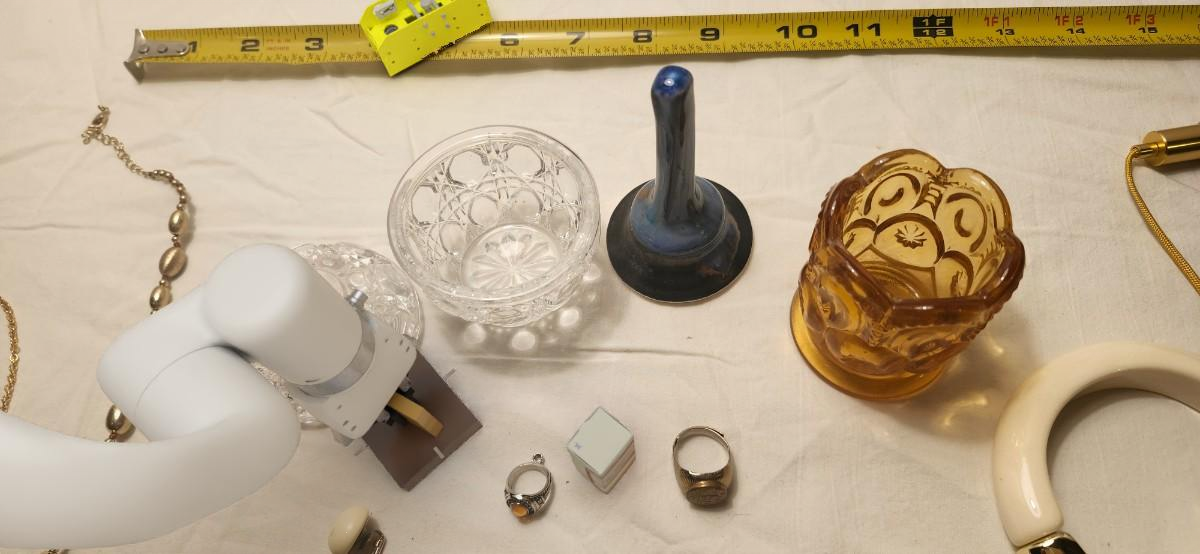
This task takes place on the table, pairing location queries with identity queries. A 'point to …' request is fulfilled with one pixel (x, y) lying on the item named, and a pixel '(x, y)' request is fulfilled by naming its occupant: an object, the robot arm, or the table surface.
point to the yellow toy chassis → (419, 27)
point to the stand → (410, 446)
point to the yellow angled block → (415, 414)
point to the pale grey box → (602, 449)
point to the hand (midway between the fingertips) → (400, 408)
